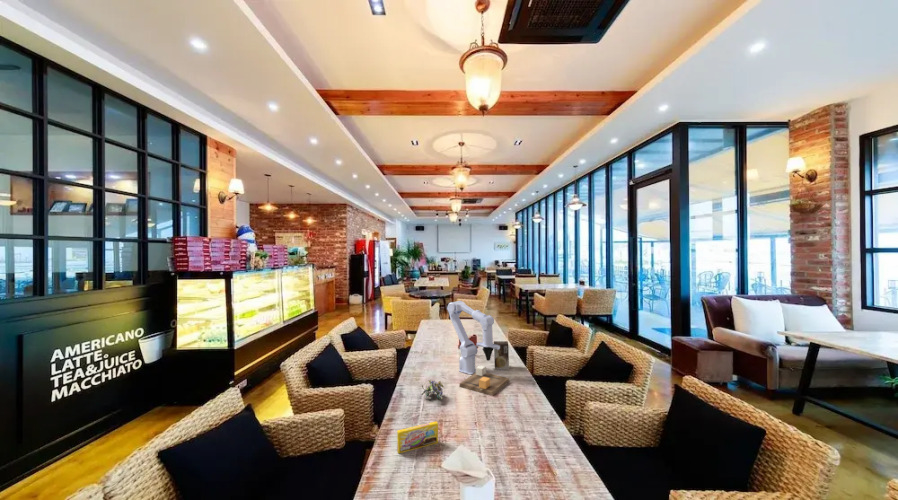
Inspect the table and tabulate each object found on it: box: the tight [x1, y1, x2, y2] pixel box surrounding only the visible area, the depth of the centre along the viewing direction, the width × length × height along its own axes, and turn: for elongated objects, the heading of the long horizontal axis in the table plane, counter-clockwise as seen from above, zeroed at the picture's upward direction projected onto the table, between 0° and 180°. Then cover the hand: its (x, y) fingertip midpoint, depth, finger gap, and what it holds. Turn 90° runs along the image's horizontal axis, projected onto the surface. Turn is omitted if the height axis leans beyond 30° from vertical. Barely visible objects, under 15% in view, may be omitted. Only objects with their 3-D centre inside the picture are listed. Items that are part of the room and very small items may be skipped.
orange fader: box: [479, 377, 490, 389], centre depth 174 cm, size 4×5×4 cm
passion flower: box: [421, 379, 444, 401], centre depth 167 cm, size 11×11×12 cm
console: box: [459, 372, 510, 397], centre depth 182 cm, size 20×23×2 cm
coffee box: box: [493, 340, 510, 370], centre depth 207 cm, size 9×6×16 cm
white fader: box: [475, 364, 487, 376], centre depth 191 cm, size 4×5×4 cm
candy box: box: [396, 421, 439, 455], centre depth 126 cm, size 16×2×8 cm, turn 114°
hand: (488, 359), depth 192 cm, fingers closed
